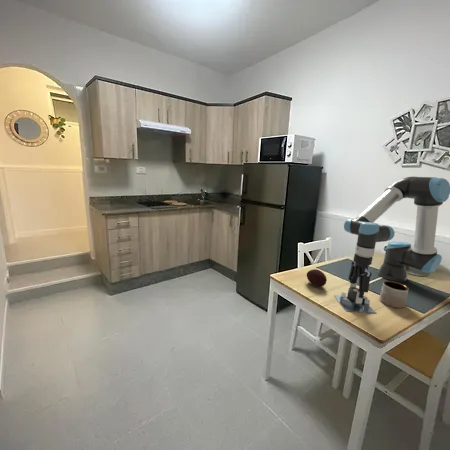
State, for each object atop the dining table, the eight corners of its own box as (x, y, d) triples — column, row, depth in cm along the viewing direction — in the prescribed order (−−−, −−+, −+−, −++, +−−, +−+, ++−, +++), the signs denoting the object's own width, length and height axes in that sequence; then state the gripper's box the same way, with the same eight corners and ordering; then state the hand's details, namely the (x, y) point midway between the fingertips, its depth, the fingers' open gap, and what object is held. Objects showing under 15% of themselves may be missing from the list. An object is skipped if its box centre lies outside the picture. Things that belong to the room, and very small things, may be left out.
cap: (357, 296, 120) (359, 287, 119) (364, 303, 114) (366, 294, 113) (344, 295, 120) (346, 286, 119) (350, 302, 114) (352, 293, 113)
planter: (395, 310, 114) (400, 292, 112) (374, 298, 124) (378, 282, 121) (409, 306, 118) (414, 288, 116) (387, 295, 128) (391, 279, 126)
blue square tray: (360, 297, 124) (361, 291, 123) (376, 313, 111) (377, 307, 110) (333, 295, 125) (334, 290, 124) (346, 311, 111) (347, 304, 110)
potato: (319, 291, 128) (321, 275, 126) (301, 282, 138) (303, 267, 136) (329, 288, 133) (331, 272, 131) (311, 279, 143) (313, 264, 140)
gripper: (346, 247, 121) (338, 289, 126) (366, 262, 102) (357, 309, 108) (360, 248, 121) (352, 290, 126) (384, 263, 102) (373, 311, 107)
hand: (354, 299), depth 117 cm, fingers closed on cap, 6 cm apart
